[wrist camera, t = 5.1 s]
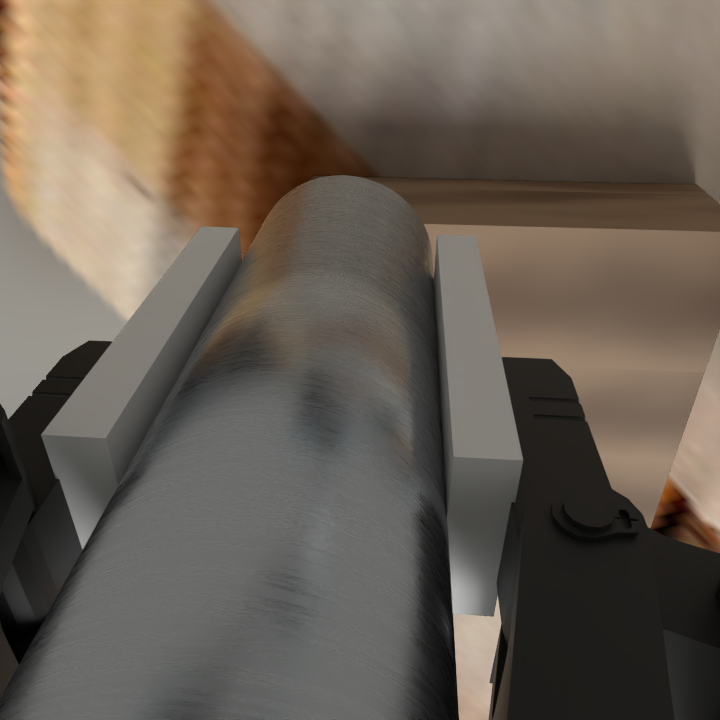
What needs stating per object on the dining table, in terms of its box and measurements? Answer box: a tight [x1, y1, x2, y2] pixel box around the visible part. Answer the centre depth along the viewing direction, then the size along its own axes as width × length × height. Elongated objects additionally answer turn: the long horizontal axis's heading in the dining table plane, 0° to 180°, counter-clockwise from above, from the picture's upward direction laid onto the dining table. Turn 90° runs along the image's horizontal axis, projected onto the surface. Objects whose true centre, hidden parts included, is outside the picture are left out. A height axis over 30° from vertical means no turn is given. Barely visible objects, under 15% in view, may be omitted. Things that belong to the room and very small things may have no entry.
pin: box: [0, 175, 459, 720], centre depth 10 cm, size 4×4×12 cm
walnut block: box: [310, 176, 720, 528], centre depth 33 cm, size 18×18×6 cm
